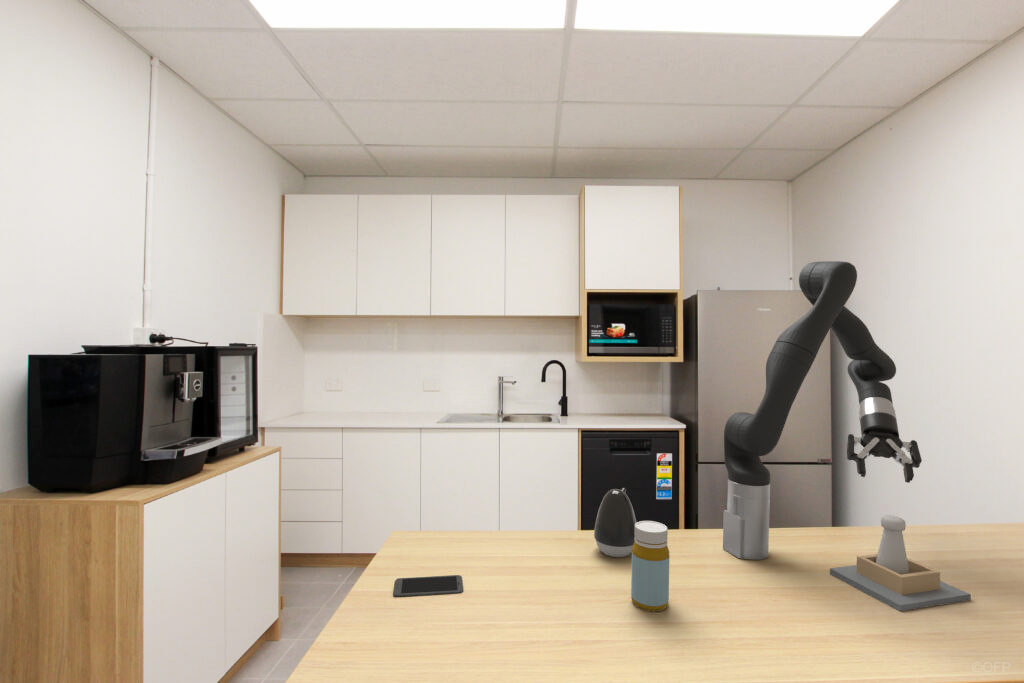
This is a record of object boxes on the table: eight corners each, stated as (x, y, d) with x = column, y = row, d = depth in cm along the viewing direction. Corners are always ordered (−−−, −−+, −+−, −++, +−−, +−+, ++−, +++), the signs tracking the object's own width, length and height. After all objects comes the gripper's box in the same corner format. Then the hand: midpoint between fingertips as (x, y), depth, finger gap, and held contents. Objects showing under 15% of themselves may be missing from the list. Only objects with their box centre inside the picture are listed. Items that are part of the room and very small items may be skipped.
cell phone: (395, 581, 111) (395, 578, 111) (461, 578, 113) (461, 574, 113) (392, 599, 104) (392, 595, 104) (463, 595, 106) (464, 591, 106)
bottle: (669, 597, 105) (670, 522, 105) (667, 615, 98) (668, 535, 98) (633, 591, 107) (634, 518, 107) (629, 608, 101) (630, 530, 100)
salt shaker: (914, 586, 109) (916, 523, 108) (883, 583, 110) (885, 520, 109) (899, 573, 114) (901, 513, 114) (870, 570, 115) (871, 511, 115)
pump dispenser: (643, 550, 128) (644, 487, 127) (628, 566, 119) (629, 498, 119) (604, 540, 133) (605, 480, 133) (586, 555, 124) (587, 490, 124)
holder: (900, 611, 101) (900, 586, 101) (829, 573, 116) (830, 552, 116) (970, 600, 106) (971, 576, 105) (893, 565, 121) (894, 544, 121)
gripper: (846, 408, 132) (851, 465, 122) (916, 413, 126) (928, 474, 116) (842, 425, 137) (846, 481, 127) (909, 432, 131) (920, 491, 121)
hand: (885, 478), depth 121 cm, fingers open, 8 cm apart
